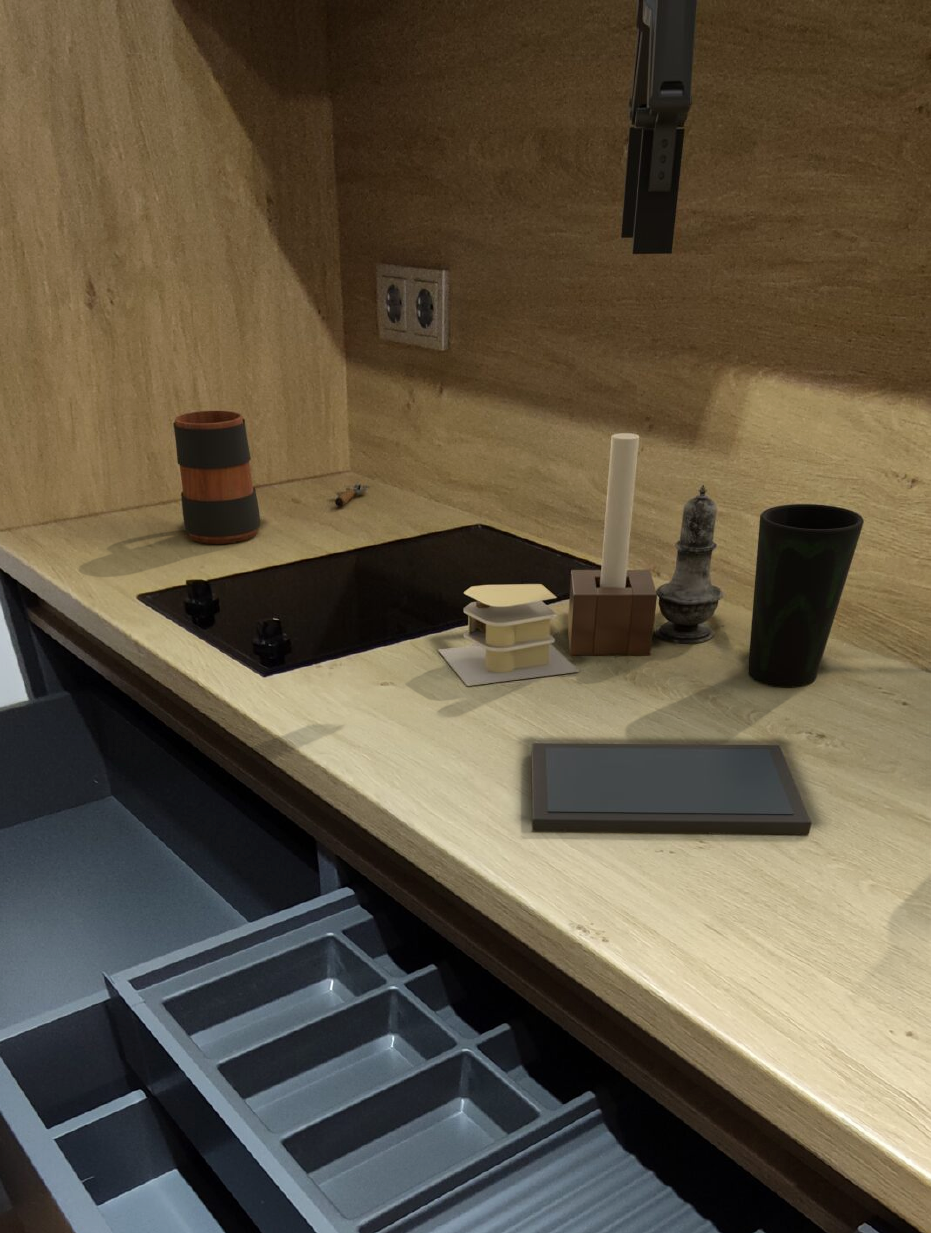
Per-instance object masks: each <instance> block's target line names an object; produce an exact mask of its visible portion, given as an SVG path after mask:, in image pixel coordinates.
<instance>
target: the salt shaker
mask: <svg viewBox="0 0 931 1233" xmlns="http://www.w3.org/2000/svg"><path fill="white" fill-rule="evenodd" d="M707 491H708V490H707V489H706V487H705V484H702V485H701V487H700V488H699V489H698V492H699V494H698V495H696V496H695V497H692V498H691V499H689V500H688V501H686V503H685V504H684V506H683V509H682V510H683V511H682V518H681V520H682V521H681V526H680V536H679V540H678V541H676V542H675V543H674V547H675V549H677V552H676V561H675V569H674V571H673V574H672V578H671V580H670V581H669V582H667V583H664V584H662V585H660V586H658V587H657V588H656V589H655V590H656V593H657V598H658V607H659V610H660V613H661V615H662V616H663V617H664V618H665V619H666V620H667V621H665V622H663V623H662V624H660V625H658V626H657V627H656V628H655V630H654V634H655V636H656V637H657V638H659V639H661V640H663V641H665V642H669V643H674V644H684V645H685V644H686V645H688V644H689V645H690V644H691V645H692V644H699V643H704V642H705V643H706V642H708V641H709V640H712V639H713V638H714V636H715V631H714V630H713V629H712V628H711V627H710V626H709V625H708V624H706V622H707V621H708V620H709V619H711V618H712V616H713V615H714V614H715V612H716V611H717V609H718V606H719V601H720V600H721V599H722V598H723V597H724V591H723V590H722V589H721V587H718V586H717V585H715V584H713V583H712V581H711V562H712V557H713V556H712V555H713V552H714V550H715V549H717V546H718V545H717V543H716V542H715V541H714V534H715V526H716V521H717V513H718V505H717V503H716V502H715V501H714V500H713V499H712V498H710V497H708V495H706V493H707Z"/></svg>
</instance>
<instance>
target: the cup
mask: <svg viewBox="0 0 931 1233" xmlns="http://www.w3.org/2000/svg"><path fill="white" fill-rule="evenodd" d="M864 523H865V520H864V518H863V516H862V515H861V514H860V513H858V512H856V511H853V510H851V509H847V508H844V507H839V506H834V505H826V504H816V503H815V504H814V503H793V504H792V503H791V504H782V505H777V506H776V505H775V506H773V507H769V508H767V509H765V510H764V511H762V513H760V514H759V525H758V526H759V527H758V536H757V537H758V539H757V552H756V564H755V576H754V590H753V601H752V612H751V613H752V614H751V627H750V640H749V652H748V665H747V675H748V677H749V678H750V679H751V680H753V681H754V682H757V683H759V684H761V685H766V686H770V687H776V688H799V687H805V686H808V685H811V684H812V683H814V682H815V681H816V679H817V676H818V672H819V670H820V667H821V663H822V659H823V656H824V653H825V651H826V646H827V644H828V641H829V637H830V634H831V630H832V628H833V624H834V620H835V617H836V614H837V612H838V608H839V604H840V602H841V597H842V595H843V591H844V588H845V585H846V582H847V579H848V576H849V572H850V568H851V565H852V563H853V562H852V561H853V559H854V556H855V552H856V549H857V545H858V542H859V539H860V536H861V532H862V529H863V526H864Z"/></svg>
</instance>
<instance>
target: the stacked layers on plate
mask: <svg viewBox="0 0 931 1233" xmlns="http://www.w3.org/2000/svg"><path fill="white" fill-rule="evenodd" d="M463 594H464V595H466V596H468V597H470V598H471V599H474V600H476V601H471V602H470V603H469V604H467V605H466V606H465V607H463V613H464V614H466V616H467V623H468V624H467V625H468V626H467V630H466V631H464V632H463V638H464V639H465V640H467V641H469V642H471V643H473V644H475V645H473V644H472V645H466V646H458V647H457V646H456V647H448V648H442V649H441V648H440V649H437V651H438V652H439V654H441V656H442V657H443V659H445V661H446V662H447V663H448V664H449V665H450V667H451V668H452V669H453V670H454V672H455V673H456V675H458V676H459V678H460V679H461V680H462V682H463V683H464V684H465V685H466V687H470V686H478V685H479V686H480V685H485V684H486V685H487V684H493V683H502V682H508V681H509V682H510V681H517V680H525V679H533V678H534V679H535V678H542V677H549V676H556V675H564V674H565V675H566V674H571V673H579V672H580V670H579V669H578V668H576V666H574V664H573V663H572V662H571V661H569V660H568V659H567V658H566V657H565V656H564V655H563V654H562V653H561V652H560V651H559V650H558V649H557V648H556V647H555V646H554V645H553V643H555V637H553V635H552V634H551V619H555V618H556V617H557V613H556V612H555V611H554V610H553V609H551V608H550V607H549V606H548V605H547V604H546V603H545V602H544V601H547V600H553V599H557V598H558V597H557V596H556V595H555V594H554V593H552V592H551V591H550V590H549V589H548V588H546V587H545V586H544V585H543V584H542V583H523V584H521V583H519V584H516V583H515V584H481V585H473V586H470V587H469V588H467V589H466V590H465V591H464V592H463Z"/></svg>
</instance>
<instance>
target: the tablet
mask: <svg viewBox="0 0 931 1233" xmlns="http://www.w3.org/2000/svg"><path fill="white" fill-rule="evenodd" d="M530 754H531V758H530V759H531V760H530V762H531V763H530V764H531V765H530V768H531V821H532V822H531V827H532V828H531V830H532V832H559V833H560V832H563V833H564V832H565V833H566V832H567V833H569V832H571V833H643V834H644V833H646V834H647V833H651V834H654V833H655V834H656V833H658V834H663V833H664V834H724V835H725V834H727V835H728V834H730V835H732V834H733V835H739V834H740V835H742V834H743V835H809V834H810V831H811V827H812V820H811V818H810V815H809V813H808V810H807V808H806V805H805V803H804V801H803V798H802V796H801V793H800V791H799V788H798V786H797V784H796V781H795V779H794V776H793V773H792V771H791V768H790V766H789V764H788V762H787V759H786V757H785V755H784V752H783V750H782V747H781V745H780V744H712V743H711V744H710V743H709V744H707V743H705V744H704V743H702V744H700V743H699V744H697V743H572V742H571V743H567V742H566V743H562V742H559V743H558V742H557V743H556V742H552V743H551V742H532V743H531V751H530Z"/></svg>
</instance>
